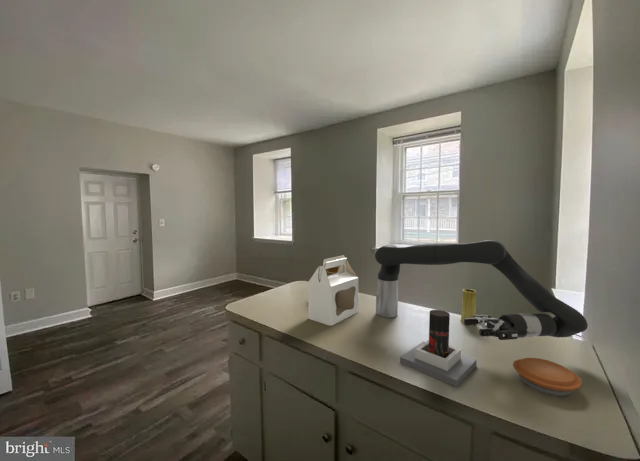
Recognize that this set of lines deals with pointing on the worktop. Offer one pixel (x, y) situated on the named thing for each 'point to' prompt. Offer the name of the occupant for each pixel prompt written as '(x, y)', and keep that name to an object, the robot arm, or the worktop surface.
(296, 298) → the worktop surface
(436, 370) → the grey white socket base
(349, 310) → the gable box
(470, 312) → the vase
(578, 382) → the pie
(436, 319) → the deodorant
